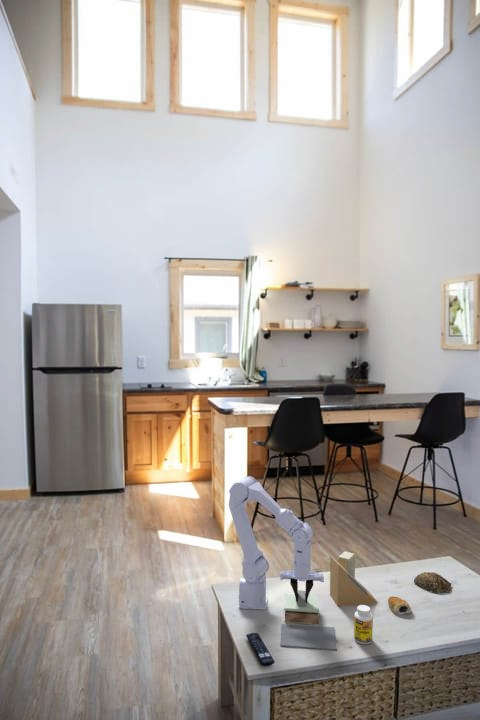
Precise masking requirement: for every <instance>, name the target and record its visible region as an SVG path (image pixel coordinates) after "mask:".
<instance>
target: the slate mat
mask: <svg viewBox="0 0 480 720" xmlns="http://www.w3.org/2000/svg"><path fill="white" fill-rule="evenodd" d="M280 629H281V630H280V645H279V646H280V647H284V648H296V649H297V648H300V649H313V650H327V651H337V649H338V646H337V638H336V631H335V630H336V629H335V627H334V626H320V625H308V624H306V625H305V624H290V623H288V624H287V623H281V626H280Z"/></svg>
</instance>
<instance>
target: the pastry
mask: <svg viewBox="0 0 480 720" xmlns="http://www.w3.org/2000/svg"><path fill="white" fill-rule="evenodd" d="M387 604H388V607H389V609H390V610H391V611H392V613H393V614H394V615H395V616H396V615H398V616H399V615H400V616H402V615H407V614H410V613H411V612H412V608H411V606H410V604H409V603H408V602H407V601H406V599H403V598H401V597H398V596H389V597H388V598H387Z"/></svg>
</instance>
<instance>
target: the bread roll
mask: <svg viewBox="0 0 480 720" xmlns="http://www.w3.org/2000/svg"><path fill="white" fill-rule="evenodd" d="M413 583H414V584H415V585H416V586H417V587H419V588H421V589H423V590H424V591H428V592H430V591H431V592H430V593H433V594H434V593H435V594H440V593H443V592H446V593H450V591H451V592H452V588H451V587H452V583H451V582H449V581H448V580H447V579H446V578H444V577H443V576H442V575H441V574H439V573H437V572H435V571H434V572H430V571H424V572H421V573H419V574H417V576H415V577H414V580H413Z"/></svg>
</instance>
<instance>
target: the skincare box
mask: <svg viewBox="0 0 480 720" xmlns="http://www.w3.org/2000/svg"><path fill="white" fill-rule="evenodd" d="M337 561H338V562H339V563H340V564H341V565H342V566H343V567H344V568H345V569H346V570H347V571H348V572H349V573H350V574H351V575H352V576H353V577H354V578H355V577H356V553H353V552H349V551H346V550H345V551H343V552H342V553H341V554H340V555H339V556H338V557H337ZM355 579H356V578H355Z"/></svg>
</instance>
